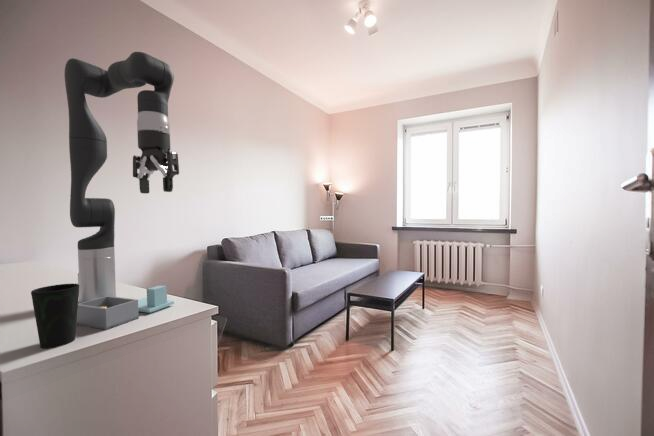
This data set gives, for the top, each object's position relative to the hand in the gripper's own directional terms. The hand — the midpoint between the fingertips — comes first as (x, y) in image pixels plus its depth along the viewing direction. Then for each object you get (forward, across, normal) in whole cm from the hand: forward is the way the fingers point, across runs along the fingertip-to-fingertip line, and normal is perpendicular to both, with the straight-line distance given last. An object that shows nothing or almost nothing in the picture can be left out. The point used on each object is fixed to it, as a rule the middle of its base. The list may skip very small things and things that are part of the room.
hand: (156, 192), depth 78 cm
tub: (+33, -10, -7) cm, 36 cm away
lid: (+34, -10, +4) cm, 35 cm away
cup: (+34, -7, -19) cm, 39 cm away
